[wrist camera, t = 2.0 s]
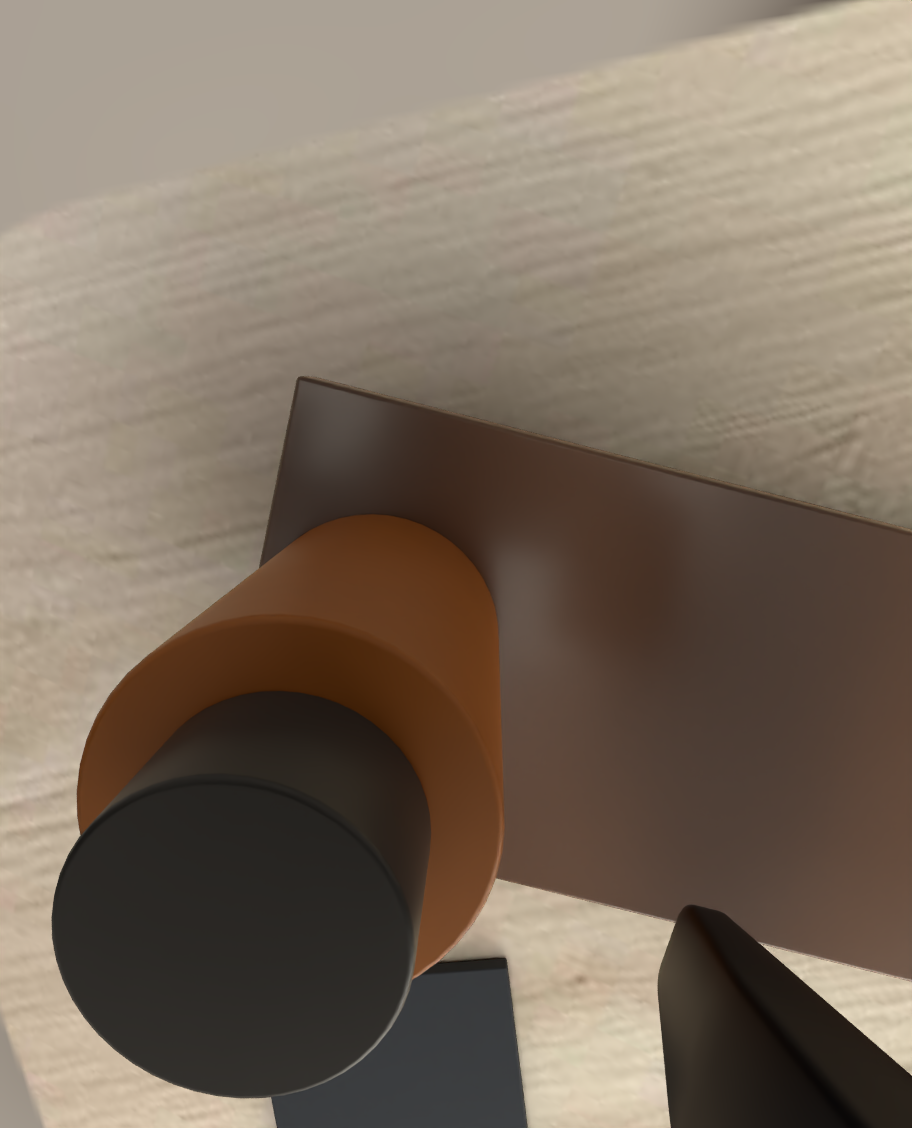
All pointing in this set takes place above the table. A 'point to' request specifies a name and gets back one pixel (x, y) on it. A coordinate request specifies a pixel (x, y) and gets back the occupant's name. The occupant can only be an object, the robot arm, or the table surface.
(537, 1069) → the table surface
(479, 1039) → the coaster
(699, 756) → the shelf
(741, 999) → the robot arm
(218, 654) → the spice bottle
